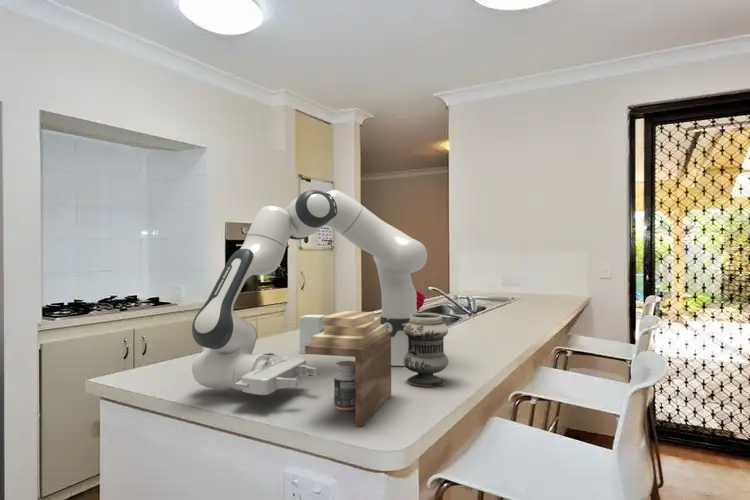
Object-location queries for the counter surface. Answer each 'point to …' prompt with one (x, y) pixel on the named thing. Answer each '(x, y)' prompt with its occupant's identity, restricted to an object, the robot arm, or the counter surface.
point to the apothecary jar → (425, 349)
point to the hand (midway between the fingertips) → (306, 377)
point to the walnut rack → (366, 373)
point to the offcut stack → (349, 329)
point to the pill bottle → (345, 386)
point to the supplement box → (309, 329)
